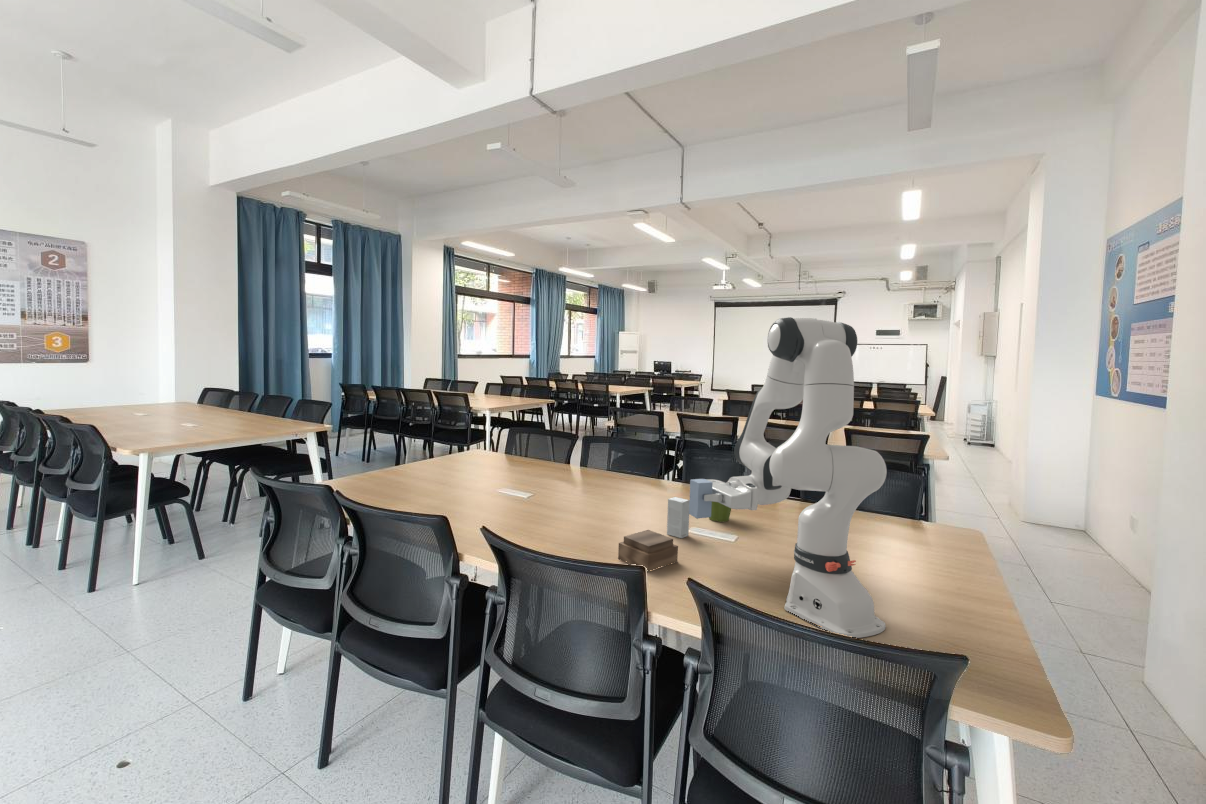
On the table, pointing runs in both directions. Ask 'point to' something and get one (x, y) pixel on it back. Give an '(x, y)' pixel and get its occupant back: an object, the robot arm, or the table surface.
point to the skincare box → (678, 517)
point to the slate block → (700, 498)
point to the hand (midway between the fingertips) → (698, 494)
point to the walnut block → (648, 550)
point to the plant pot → (719, 512)
